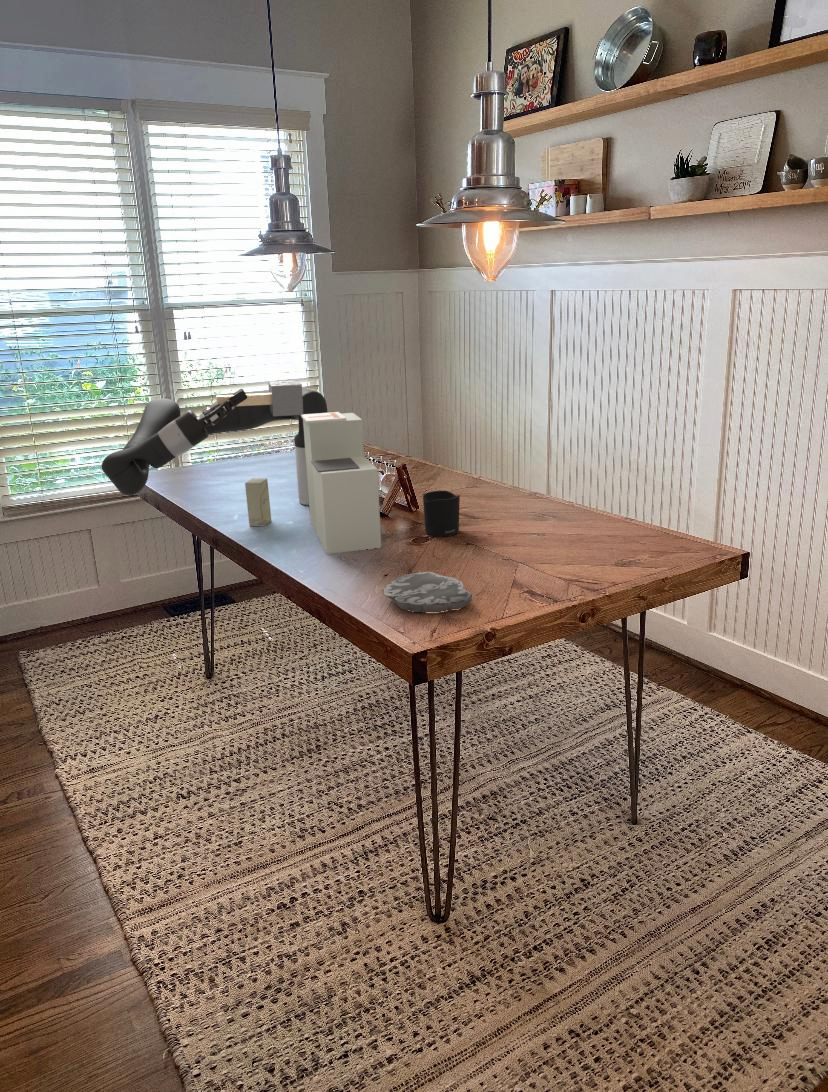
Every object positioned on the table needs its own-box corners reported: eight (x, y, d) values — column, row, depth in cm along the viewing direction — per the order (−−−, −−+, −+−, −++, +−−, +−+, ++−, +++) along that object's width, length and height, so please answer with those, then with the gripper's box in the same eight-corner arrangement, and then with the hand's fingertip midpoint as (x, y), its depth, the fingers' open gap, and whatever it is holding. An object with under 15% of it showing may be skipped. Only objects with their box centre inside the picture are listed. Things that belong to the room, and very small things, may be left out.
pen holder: (421, 537, 218) (420, 499, 214) (426, 527, 226) (425, 490, 223) (458, 538, 216) (457, 499, 213) (461, 527, 225) (461, 490, 222)
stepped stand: (359, 518, 236) (353, 410, 227) (381, 548, 210) (375, 427, 201) (308, 523, 233) (300, 414, 224) (325, 554, 207) (316, 431, 198)
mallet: (299, 409, 209) (297, 380, 207) (303, 414, 200) (301, 384, 198) (217, 413, 204) (215, 384, 202) (218, 419, 196) (216, 388, 194)
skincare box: (263, 526, 232) (259, 483, 228) (248, 526, 233) (244, 483, 229) (272, 520, 238) (268, 477, 234) (257, 520, 238) (253, 477, 235)
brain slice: (366, 597, 180) (366, 584, 179) (434, 580, 188) (433, 568, 187) (416, 627, 164) (415, 613, 163) (487, 607, 172) (487, 593, 171)
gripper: (172, 425, 192) (236, 382, 192) (174, 416, 204) (234, 376, 205) (193, 452, 194) (256, 410, 195) (193, 441, 207) (252, 402, 208)
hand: (244, 392), depth 200 cm, fingers closed on mallet, 2 cm apart
